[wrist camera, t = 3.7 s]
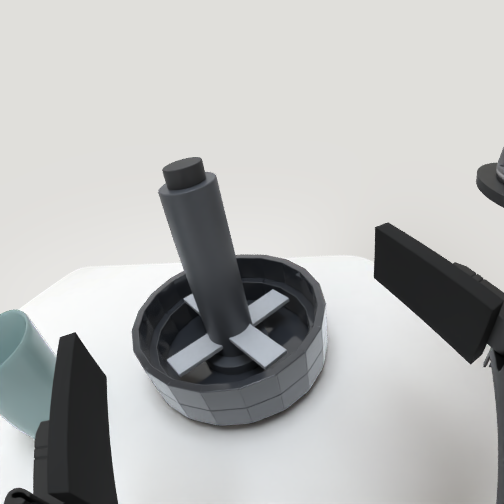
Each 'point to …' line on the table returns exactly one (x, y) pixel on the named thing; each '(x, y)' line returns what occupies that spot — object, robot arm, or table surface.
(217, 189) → the blade
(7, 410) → the cup
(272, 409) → the processor bowl
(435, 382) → the table surface
